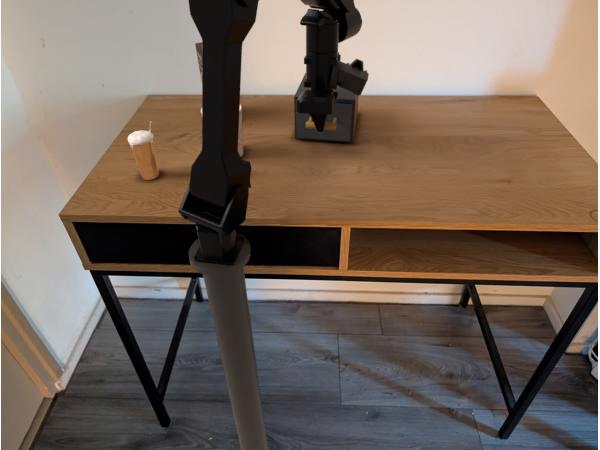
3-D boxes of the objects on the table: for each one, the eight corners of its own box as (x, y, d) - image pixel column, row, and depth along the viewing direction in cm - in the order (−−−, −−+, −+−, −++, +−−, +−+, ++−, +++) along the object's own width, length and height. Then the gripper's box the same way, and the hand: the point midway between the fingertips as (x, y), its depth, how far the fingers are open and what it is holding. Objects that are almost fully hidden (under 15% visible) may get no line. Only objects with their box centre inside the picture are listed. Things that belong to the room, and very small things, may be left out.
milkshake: (170, 171, 85) (159, 124, 78) (150, 184, 81) (137, 136, 75) (154, 165, 86) (141, 118, 80) (133, 178, 83) (119, 130, 77)
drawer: (347, 151, 88) (350, 115, 83) (293, 147, 90) (292, 111, 85) (354, 114, 102) (356, 82, 97) (306, 112, 103) (306, 79, 99)
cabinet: (352, 142, 93) (355, 99, 87) (295, 138, 95) (293, 96, 89) (357, 114, 104) (360, 74, 98) (305, 111, 106) (305, 72, 100)
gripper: (364, 66, 68) (357, 155, 77) (370, 38, 83) (364, 115, 92) (295, 63, 70) (296, 151, 79) (312, 36, 84) (312, 112, 94)
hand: (320, 131), depth 86 cm, fingers closed
